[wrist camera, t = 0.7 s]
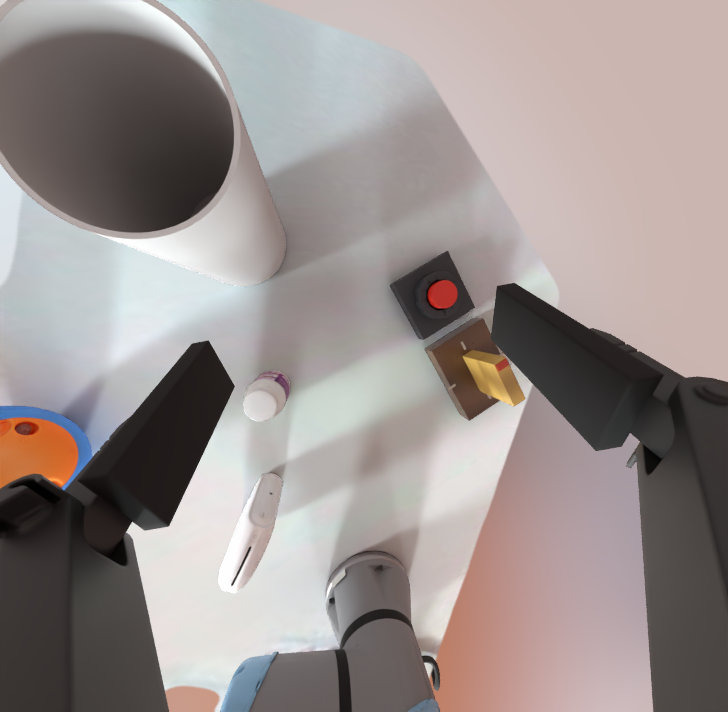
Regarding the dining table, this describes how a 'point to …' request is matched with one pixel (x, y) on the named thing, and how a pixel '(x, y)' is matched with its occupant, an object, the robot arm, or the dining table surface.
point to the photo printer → (251, 534)
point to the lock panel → (463, 365)
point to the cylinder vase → (134, 135)
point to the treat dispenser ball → (40, 445)
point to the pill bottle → (266, 395)
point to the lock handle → (494, 376)
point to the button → (442, 294)
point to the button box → (415, 299)
